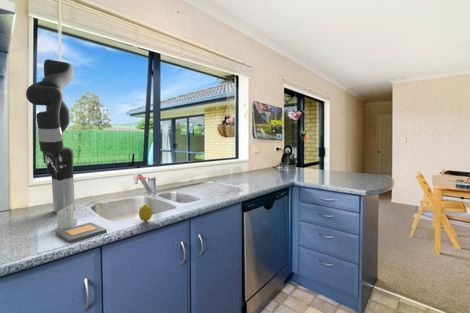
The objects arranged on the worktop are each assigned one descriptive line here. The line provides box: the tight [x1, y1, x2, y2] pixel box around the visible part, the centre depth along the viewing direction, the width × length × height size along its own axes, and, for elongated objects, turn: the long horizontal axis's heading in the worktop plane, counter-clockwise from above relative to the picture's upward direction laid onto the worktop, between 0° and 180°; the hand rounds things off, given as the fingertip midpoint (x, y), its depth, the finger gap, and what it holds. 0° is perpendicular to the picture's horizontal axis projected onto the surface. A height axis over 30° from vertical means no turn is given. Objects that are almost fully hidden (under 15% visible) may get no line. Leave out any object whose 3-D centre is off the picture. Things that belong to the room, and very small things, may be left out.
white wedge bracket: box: [56, 203, 78, 229], centre depth 104 cm, size 4×10×9 cm
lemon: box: [138, 204, 153, 223], centre depth 109 cm, size 6×6×8 cm
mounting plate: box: [55, 221, 108, 244], centre depth 96 cm, size 14×13×1 cm
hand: (55, 177), depth 99 cm, fingers open, 8 cm apart
